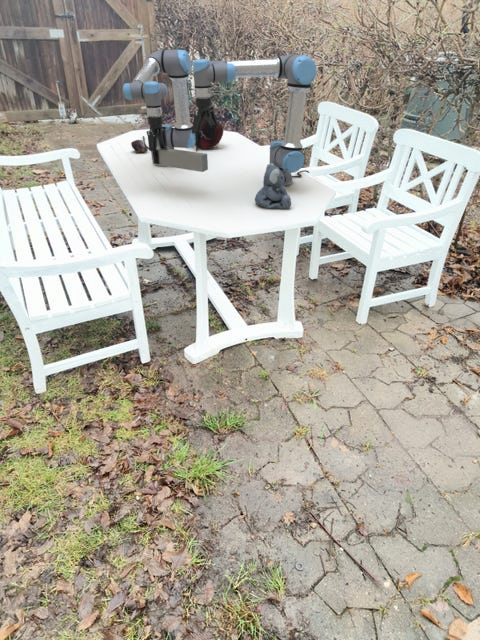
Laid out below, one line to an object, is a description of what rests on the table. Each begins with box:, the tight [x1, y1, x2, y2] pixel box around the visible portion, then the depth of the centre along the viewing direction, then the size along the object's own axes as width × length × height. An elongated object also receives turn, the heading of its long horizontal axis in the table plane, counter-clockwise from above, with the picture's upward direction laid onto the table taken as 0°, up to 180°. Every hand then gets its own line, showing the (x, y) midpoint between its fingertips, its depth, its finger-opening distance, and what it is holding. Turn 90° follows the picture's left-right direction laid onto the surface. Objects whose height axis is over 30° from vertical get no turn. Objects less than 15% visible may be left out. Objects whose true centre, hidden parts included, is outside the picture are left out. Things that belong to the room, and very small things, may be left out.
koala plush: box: [254, 162, 292, 210], centre depth 225 cm, size 17×18×20 cm
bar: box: [150, 147, 209, 173], centre depth 235 cm, size 32×5×8 cm, turn 62°
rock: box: [130, 139, 149, 153], centre depth 317 cm, size 12×9×10 cm
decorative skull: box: [190, 119, 224, 152], centre depth 324 cm, size 21×24×25 cm
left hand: (159, 162), depth 242 cm, fingers closed on bar, 5 cm apart
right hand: (206, 144), depth 223 cm, fingers open, 13 cm apart
